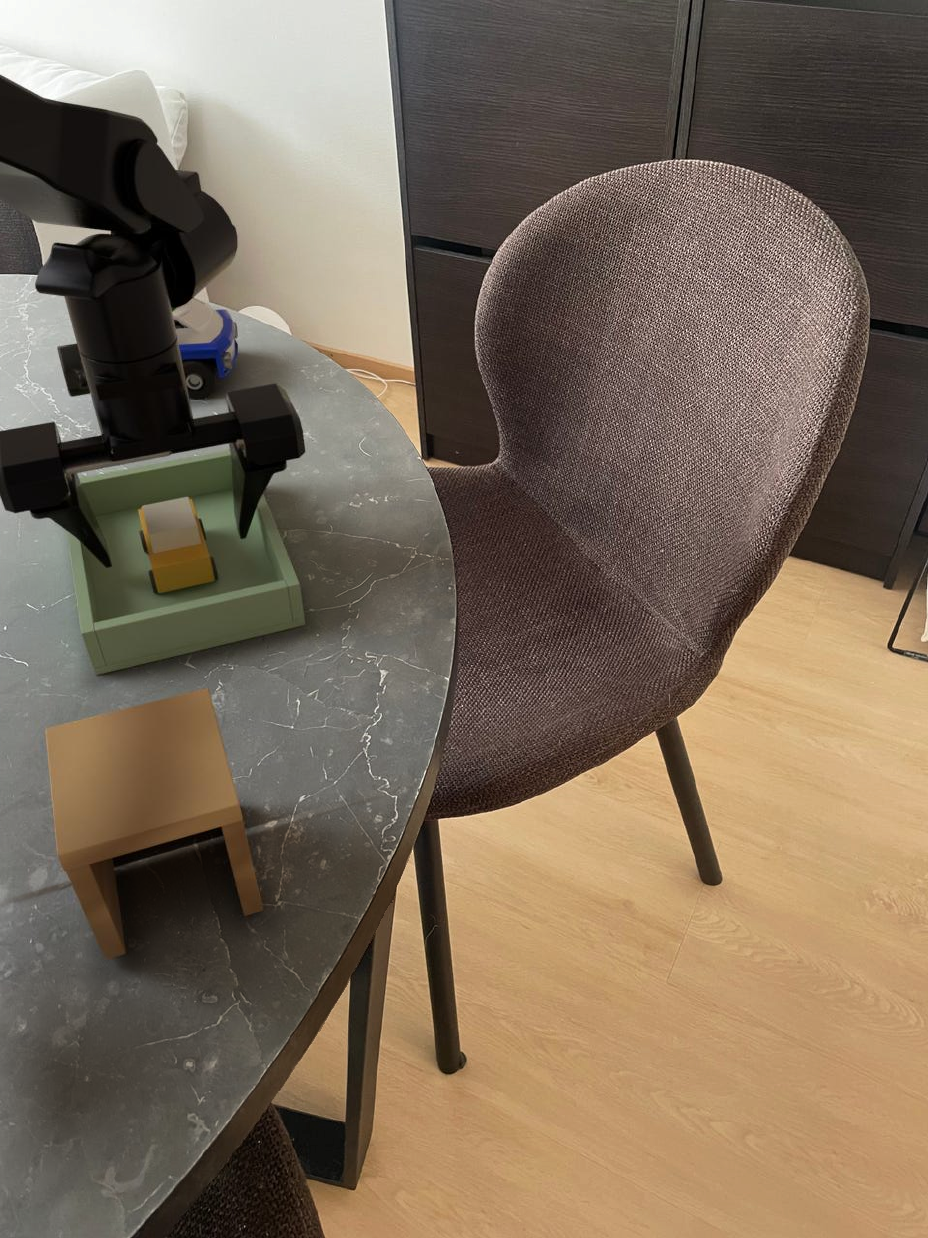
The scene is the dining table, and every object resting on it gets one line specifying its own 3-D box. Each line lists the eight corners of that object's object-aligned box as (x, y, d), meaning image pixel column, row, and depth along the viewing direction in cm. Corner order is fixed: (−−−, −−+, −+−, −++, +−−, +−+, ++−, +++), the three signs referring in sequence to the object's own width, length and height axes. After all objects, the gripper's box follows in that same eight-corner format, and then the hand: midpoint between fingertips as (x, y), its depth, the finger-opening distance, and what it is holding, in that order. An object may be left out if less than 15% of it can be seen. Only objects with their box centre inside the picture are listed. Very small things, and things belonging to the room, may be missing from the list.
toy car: (236, 398, 90) (220, 296, 83) (99, 403, 89) (72, 301, 83) (245, 350, 97) (230, 253, 90) (118, 354, 96) (94, 256, 90)
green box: (95, 675, 64) (81, 633, 61) (72, 521, 76) (59, 481, 73) (305, 625, 67) (299, 583, 65) (250, 485, 79) (244, 446, 77)
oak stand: (105, 966, 49) (56, 856, 43) (90, 841, 54) (44, 728, 48) (265, 915, 51) (239, 804, 45) (234, 800, 56) (208, 687, 50)
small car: (220, 587, 69) (210, 535, 66) (155, 601, 68) (142, 550, 65) (202, 528, 74) (192, 478, 71) (141, 541, 73) (128, 490, 70)
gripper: (254, 268, 68) (281, 464, 78) (-41, 309, 63) (29, 513, 73) (294, 338, 60) (317, 546, 71) (-40, 392, 55) (39, 607, 66)
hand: (176, 549), depth 70 cm, fingers open, 9 cm apart
